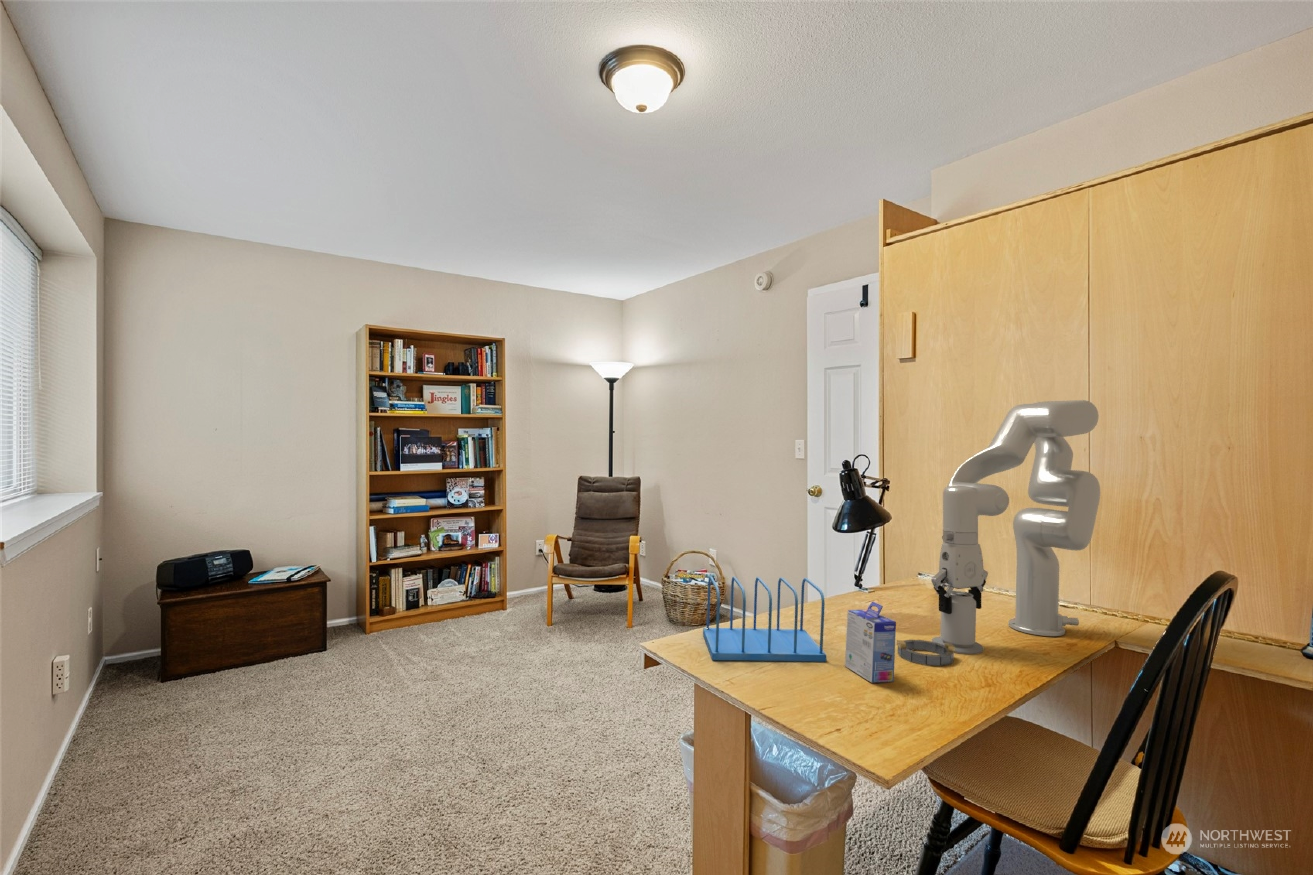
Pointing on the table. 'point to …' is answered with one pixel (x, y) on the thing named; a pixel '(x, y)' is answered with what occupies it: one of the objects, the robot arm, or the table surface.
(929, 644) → the collar
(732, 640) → the file sorter
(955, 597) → the can
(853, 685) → the table surface
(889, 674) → the ink cartridge box
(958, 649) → the coaster
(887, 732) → the table surface
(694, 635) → the table surface
